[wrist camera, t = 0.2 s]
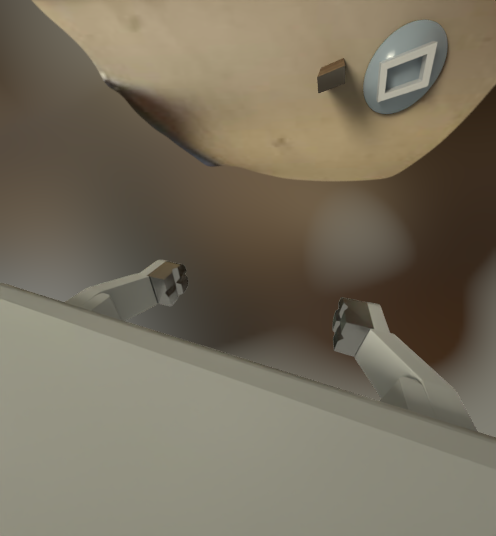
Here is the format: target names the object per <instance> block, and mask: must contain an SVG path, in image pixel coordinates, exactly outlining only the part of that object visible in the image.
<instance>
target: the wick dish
mask: <svg viewBox="0 0 496 536" xmlns="http://www.w3.org/2000/svg"><path fill="white" fill-rule="evenodd" d="M447 46H448V43H447V36H446V33H445V31H444V29H443V28H442V27H441V25H439V24H438V23H437V22H434V21H431V20H418V21H413V22H411V23H408V24H406V25H404V26H402V27H400V28H399V29H397V30H396V31H395V32H393V33H392V34H391V35H390V36H389V37H388V38H387V39H386V40H385V41H384V42H383V43H382V44H381V45H380V47H379V48H378V49H377V51H376V52H375V54H374V55H373V57H372V59H371V61H370V63H369V65H368V68H367V70H366V73H365V77H364V84H363V92H364V97H365V100H366V102H367V104H368V106H369V107H370V108H371V109H372V110H374V111H375V112H378V113H382V114H391V113H396V112H399V111H401V110H404V109H406V108H407V107H409V106H411V105H412V104H414V103H415V102H416V101H418V100H419V99H420V98H421V97H422V96H423V95H424V94H425V93H426V92H427V91H428V90H429V89H430V87H431V86H432V85H433V83H434V82H435V80H436V79H437V77H438V76H439V74H440V72H441V70H442V67H443V65H444V62H445V59H446V55H447Z"/></svg>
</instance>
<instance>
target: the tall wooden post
mask: <svg viewBox="0 0 496 536" xmlns="http://www.w3.org/2000/svg"><path fill="white" fill-rule="evenodd" d="M317 80H318V93H321V92H324V91H326V90H329V89H331V88H334V87H337V86H339V85H342V84H345V63H344V58H343V59H341V60H338V61H336V62H334V63H331V64H329V65H327V66H324V67H322V68H321V69H320V72H319V75H318V77H317Z"/></svg>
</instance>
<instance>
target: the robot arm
mask: <svg viewBox="0 0 496 536" xmlns="http://www.w3.org/2000/svg"><path fill="white" fill-rule="evenodd" d="M185 273H186V267H185V266H184V265H183V264H179V263H175V262H170V261H165V260H157V261H156V262H155V263H153V264H152V265H150V266H149V267H148V268H146V269H145V270H143V271H142V272H140V273H139V274H133V275H129V276H126V277H123V278H119V279H116V280H112V281H109V282H106V283H102V284H99V285H95V286H92V287H88V288H86V289H85V290H83V291H81V292H80V293H78V294H77V295H75V296H73V297H72V298H70V299H69V300H67V301H65V302H62V301H59V300H55V299H52V298H49V297H46V296H43V295H39V294H36V293H33V292H30V291H27V290H23V289H20V288H17V287H14V286H11V285H8V284H4V283H0V536H496V437H492V436H489V435H486V434H483V433H480V432H478V431H477V430H476V427H475V426H474V424H473V422H472V420H471V418H470V416H469V414H468V412H467V410H466V408H465V407H464V405H463V403H462V401H461V399H460V397H459V395H458V393H457V391H456V390H455V389H454V388H453V387H452V386H450V385H449V384H448V383H447V382H446V381H445V380H444V379H443V378H442V377H440V375H438V374H437V373H436V372H435V371H434V370H433V369H432V368H431V367H430V366H429V365H427V364H426V363H425V362H424V361H423V360H422V359H421V358H420V357H419V356H417V355H416V354H415V353H414V352H413V351H412V350H411V349H410V348H409V347H408V346H406V345H405V344H404V343H403V342H402V341H401V340H400V339H399V338H398V337H397V336H395V335H394V334H391V333H390V332H389V329H388V326H387V323H386V321H385V318H384V315H383V312H382V309H381V307H380V305H379V304H374V303H369V302H362V301H357V300H353V299H348V298H342V297H341V299H340V301H339V309H338V310H336V312H335V314H334V318H333V331H334V332H335V335H334V337H333V345H334V351H337V352H340V353H344V354H347V355H350V356H354V357H355V359H356V361H357V362H358V364H359V365H360V367H361V368H362V370H363V371H364V373H365V375H366V376H367V378H368V379H369V381H370V382H371V384H372V385H373V387H374V388H375V390H376V391H377V393H378V394H379V396H380V397H381V400H380V401H377V400H375V399H371V398H368V397H365V396H362V395H359V394H355V393H352V392H349V391H346V390H342V389H340V388H336V387H333V386H330V385H327V384H323V383H320V382H317V381H314V380H311V379H308V378H304V377H301V376H298V375H295V374H292V373H288V372H285V371H282V370H279V369H276V368H272V367H269V366H266V365H263V364H260V363H256V362H253V361H250V360H247V359H244V358H240V357H237V356H234V355H231V354H228V353H224V352H221V351H218V350H215V349H212V348H209V347H205V346H202V345H199V344H195V343H193V342H190V341H186V340H183V339H180V338H176V337H174V336H170V335H167V334H164V333H161V332H158V331H154V330H151V329H148V328H145V327H142V326H138V325H135V324H132V323H129V322H126V320H128V319H130V318H132V317H134V316H136V315H138V314H140V313H142V312H143V311H145V310H147V309H149V308H151V307H153V306H155V305H157V304H158V303H159V304H163V305H167V306H172V305H173V304H174V303H175V302H176V300H178V295H180V294H183V293H184V292H185V291H186V289H187V287H188V277H187V276H186V275H185Z"/></svg>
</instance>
